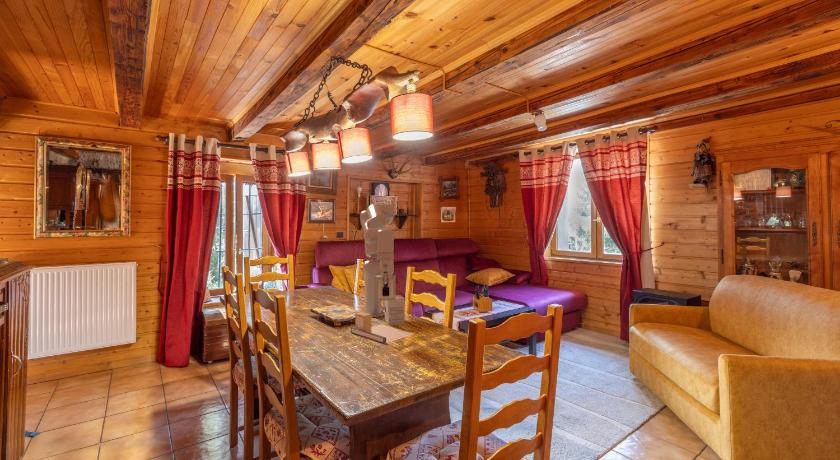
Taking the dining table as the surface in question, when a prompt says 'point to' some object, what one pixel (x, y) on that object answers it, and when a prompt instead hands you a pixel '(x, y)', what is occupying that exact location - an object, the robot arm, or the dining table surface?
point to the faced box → (363, 321)
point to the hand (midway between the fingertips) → (385, 294)
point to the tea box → (391, 289)
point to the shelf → (382, 333)
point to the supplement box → (395, 311)
